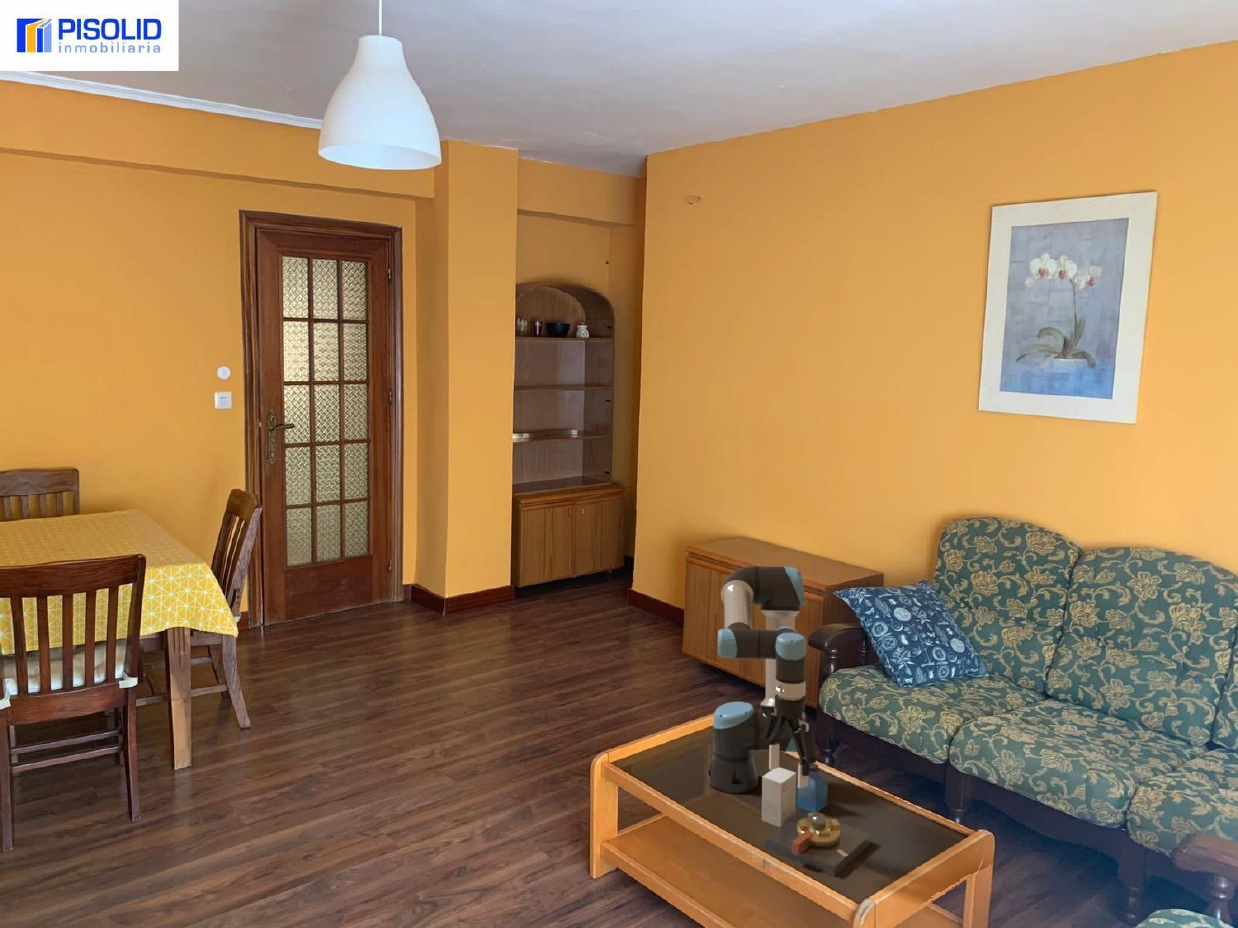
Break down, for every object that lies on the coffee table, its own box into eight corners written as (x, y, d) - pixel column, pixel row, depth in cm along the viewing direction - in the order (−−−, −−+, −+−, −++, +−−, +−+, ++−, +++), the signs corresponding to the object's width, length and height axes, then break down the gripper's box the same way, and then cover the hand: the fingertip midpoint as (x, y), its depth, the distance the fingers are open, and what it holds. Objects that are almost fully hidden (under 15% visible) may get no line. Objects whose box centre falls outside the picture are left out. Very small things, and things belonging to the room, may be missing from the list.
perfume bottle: (827, 805, 264) (828, 765, 263) (815, 813, 260) (816, 772, 258) (808, 797, 268) (809, 758, 267) (796, 805, 264) (797, 765, 262)
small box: (776, 809, 262) (776, 765, 260) (796, 816, 258) (797, 772, 256) (760, 820, 256) (761, 775, 254) (781, 828, 252) (782, 783, 250)
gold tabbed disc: (810, 820, 251) (810, 807, 250) (847, 834, 244) (847, 821, 243) (775, 846, 238) (776, 833, 237) (814, 862, 230) (814, 849, 230)
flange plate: (764, 847, 242) (765, 818, 241) (803, 817, 257) (804, 790, 256) (834, 876, 229) (835, 846, 228) (871, 843, 244) (872, 814, 243)
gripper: (750, 682, 244) (748, 762, 247) (809, 713, 224) (806, 800, 227) (772, 677, 247) (771, 756, 250) (832, 707, 227) (830, 792, 230)
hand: (788, 777), depth 239 cm, fingers open, 11 cm apart
